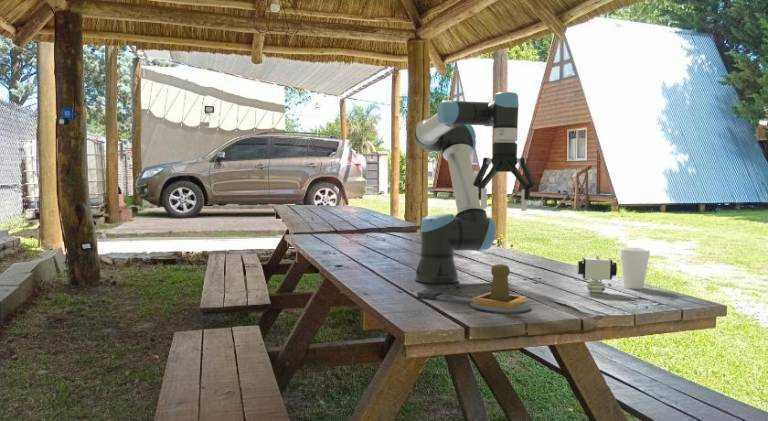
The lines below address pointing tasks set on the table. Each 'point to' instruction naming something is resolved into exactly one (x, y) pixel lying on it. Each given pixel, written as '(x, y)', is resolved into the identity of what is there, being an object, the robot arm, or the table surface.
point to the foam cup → (634, 266)
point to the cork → (500, 283)
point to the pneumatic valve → (596, 272)
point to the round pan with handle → (483, 302)
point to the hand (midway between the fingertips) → (503, 209)
